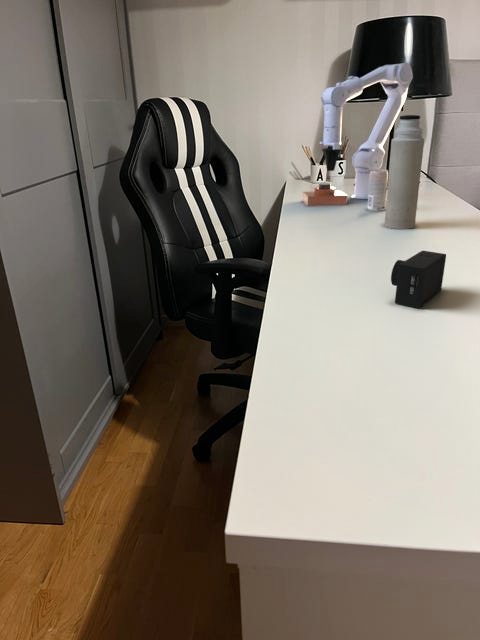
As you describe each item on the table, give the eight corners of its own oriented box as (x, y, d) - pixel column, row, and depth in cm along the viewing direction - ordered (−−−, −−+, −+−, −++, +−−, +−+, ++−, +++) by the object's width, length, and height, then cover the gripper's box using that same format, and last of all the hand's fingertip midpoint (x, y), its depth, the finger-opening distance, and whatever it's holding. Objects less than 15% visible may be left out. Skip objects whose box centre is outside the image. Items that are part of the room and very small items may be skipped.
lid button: (329, 188, 171) (329, 182, 170) (331, 189, 167) (332, 184, 166) (317, 188, 170) (317, 183, 170) (320, 190, 167) (320, 184, 166)
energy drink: (383, 208, 160) (386, 169, 155) (386, 211, 155) (389, 171, 150) (366, 208, 160) (369, 169, 155) (368, 211, 155) (371, 171, 151)
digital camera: (411, 285, 92) (415, 248, 90) (441, 291, 89) (446, 253, 86) (387, 302, 85) (391, 262, 82) (419, 309, 82) (424, 268, 79)
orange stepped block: (339, 199, 175) (340, 185, 173) (346, 204, 166) (347, 189, 164) (302, 201, 175) (303, 186, 173) (307, 206, 166) (308, 191, 164)
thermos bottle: (413, 222, 139) (424, 114, 128) (416, 229, 132) (429, 115, 121) (383, 222, 141) (392, 115, 130) (385, 228, 134) (395, 115, 123)
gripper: (316, 126, 169) (314, 168, 175) (325, 128, 156) (323, 173, 161) (336, 126, 170) (334, 167, 175) (347, 128, 156) (344, 172, 162)
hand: (330, 170), depth 168 cm, fingers closed
